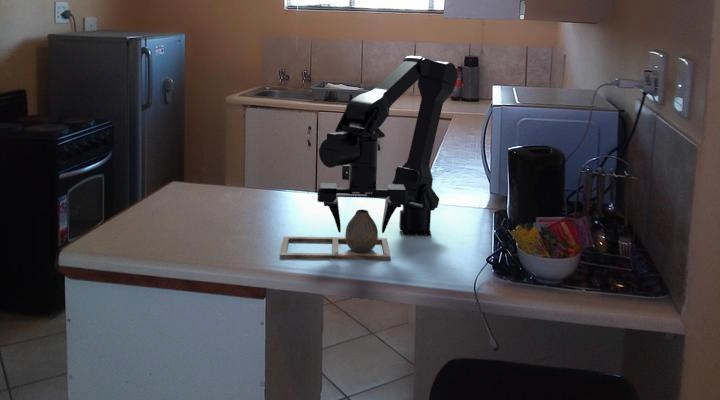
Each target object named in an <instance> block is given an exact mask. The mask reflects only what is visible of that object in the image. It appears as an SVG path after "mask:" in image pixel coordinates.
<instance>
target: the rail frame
mask: <svg viewBox="0 0 720 400" xmlns="http://www.w3.org/2000/svg"><path fill="white" fill-rule="evenodd" d="M289 242H291V243H293V242H295V243H301V242H302V243H332V253H321V252H319V253H318V252H315V253H314V252H313V253H312V252H288V248H289ZM388 242H389V241H388V238H387V237H378V239H377V243H376V244H381V247H382V252H383V254H382V253H339V243H345V244H347V242H346V237H344V236H342V237H341V236H340V237H339V236H335V237H333V236H283V237H282V242H281V248H280V253H279V259H294V260H295V259H296V260H297V259H301V260H302V259H303V260H305V259H306V260H309V259H310V260H359V261H360V260H361V261H362V260H365V261H366V260H367V261H374V260H375V261H391V260H392V259H391V251H390V247H389V243H388Z"/></svg>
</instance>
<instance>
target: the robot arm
mask: <svg viewBox="0 0 720 400" xmlns="http://www.w3.org/2000/svg"><path fill="white" fill-rule="evenodd" d="M458 79H459V72H458V70H457V68H456V65H455V64H454V63H453V62H447V61H440V60H439V61H436V60H431V59H429V58H426V57H425V56H417V55H408V56H406V57H404V59H403V61H402V63H401V64H399V65H398V66H397V68H395V69H394V70H393V71H392V72H391V73H390V74H389V75H388V76H386V77H385V78H384V79H383V80H382V81H381V82H380V83H379V84H378V85H377V86H376V87H374V88H373V89H372V90H370V91H367V92H362V93H361V94H359V95H357V96H355V97H354V98H352V99H351V100H349V102H347V104H346V106H345V107H346V108H345V110H344V112H343V113H342V116H341V118H340V119H339V122H338V123H337V126H336V128H335V130H334V132H326V139H324V140H323V141H321V144H320V146H319V148H318V156H319V159H320V161H321V163H322V165H324V166H325V167H327V168H329V169H330V168H331V169H332V168H337V167H341V181H347V183H348V185H347V186H348V187H337V182H335V183H333V182H320V183H319V184H318V185H317V202H318V203H323V206H324V207H328V208H329V210H330V212H331V214H332V216H333V219H334V222H335V226H336V228H337V231H338V233H341V229H342V228H341V226H342V225H341V215H340V207H339V199H338V198H370V199H371V198H375V199H376V198H377V199H385V201H384V211H383V215H382V216H383V217H382V222H381V233H382V234H385V232H386V229H387V227H388V225H389V222H390V219H391V217H392V216H393V214H394V213H395V211H396V209H397V208H401V207H402V209H401V210H400V211H399V222H398V224H399V226H398V227H399V230H400V231H401V234H402V235H403V236H432V232H431V219H432V217H431V216H432V211H435V209H438V206H439V203H440V198H439V196H438V195H437V194H436V192H435V191H434V189H433V182H434V177H433V175H432V172H431V168H430V162H431V157H432V155H433V149H434V145H435V142H436V141H435V140H436V135H437V132H438V131H437V130H438V128H439V123H440V119H441V114H442V111H443V110H442V109H443V106H444V103H445V102H446V101H447V99H449V98H450V97H451V95H452V94H453V92H454V89H455V87H456V83H457V81H458ZM415 83H417V89H418V90H419V94H420V104H419V107H418V108H419V109H418V113H417V117H416V122H415V126H414V130H413V135H412V138H411V144H410V147H409V153H408V157H407V160H406V161H405V163H404V164H403V165H402V166H397V167H396V169H395V171H394V172H395V174H394V178H393V180H392V183H388V184H387V186H386V188H377V174H378V172H377V171H378V147H379V146H378V141H379V139H381V138H384V137H386V134H385V133H384V132H383V131H382V130H381V128H380V127H381V126H382V125H383V124H384V122H385V121H386V120H387V118H388V117H389V115H390V108H391V107H392V106H393V104H394V103H396V102H397V101H398V99H400V98H401V96H403V95H404V94H405V93H406V92H407V91H408V90H409V89H410V88H411V87H412V86H413V85H414V84H415Z"/></svg>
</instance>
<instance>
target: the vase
mask: <svg viewBox="0 0 720 400" xmlns="http://www.w3.org/2000/svg"><path fill="white" fill-rule="evenodd" d="M344 236H345V237H346V242H347V243H346V244H347V247H348V248H349V249H350V251H352V252H353V253H355V254H369V253H370V252H371V251H372V250H373V249H374V248H375V247H376V244H378V243H377V239H378V238H379V231H378V226H377V223H376V222H375V221H374V219H373V218H372V216H371V215H370V213H369V210H367V209H357V210H356V211H355V214H354V215H353V216H352V218H350V220H349V221H348V223H347V225H346V228H345V235H344Z"/></svg>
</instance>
